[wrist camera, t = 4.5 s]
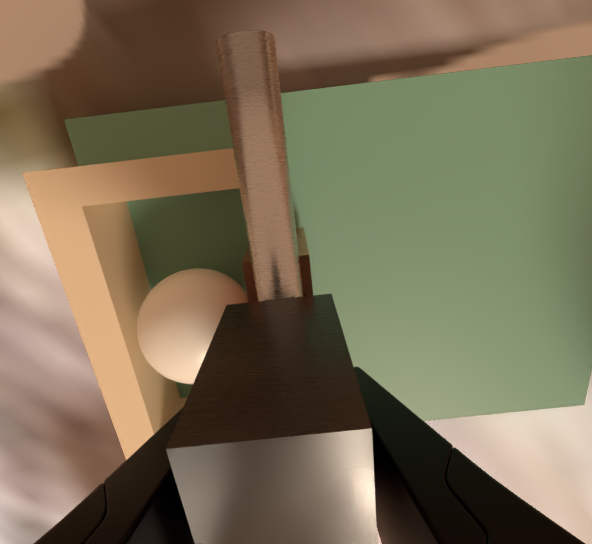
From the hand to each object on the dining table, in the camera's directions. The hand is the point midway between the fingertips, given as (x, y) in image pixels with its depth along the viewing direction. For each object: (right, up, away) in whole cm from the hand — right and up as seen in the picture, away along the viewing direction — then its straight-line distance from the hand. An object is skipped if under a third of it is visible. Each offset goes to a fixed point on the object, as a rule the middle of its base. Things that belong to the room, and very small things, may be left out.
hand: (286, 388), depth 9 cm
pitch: (+3, +3, +7) cm, 8 cm away
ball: (-4, +1, +4) cm, 6 cm away
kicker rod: (0, +2, +6) cm, 6 cm away
